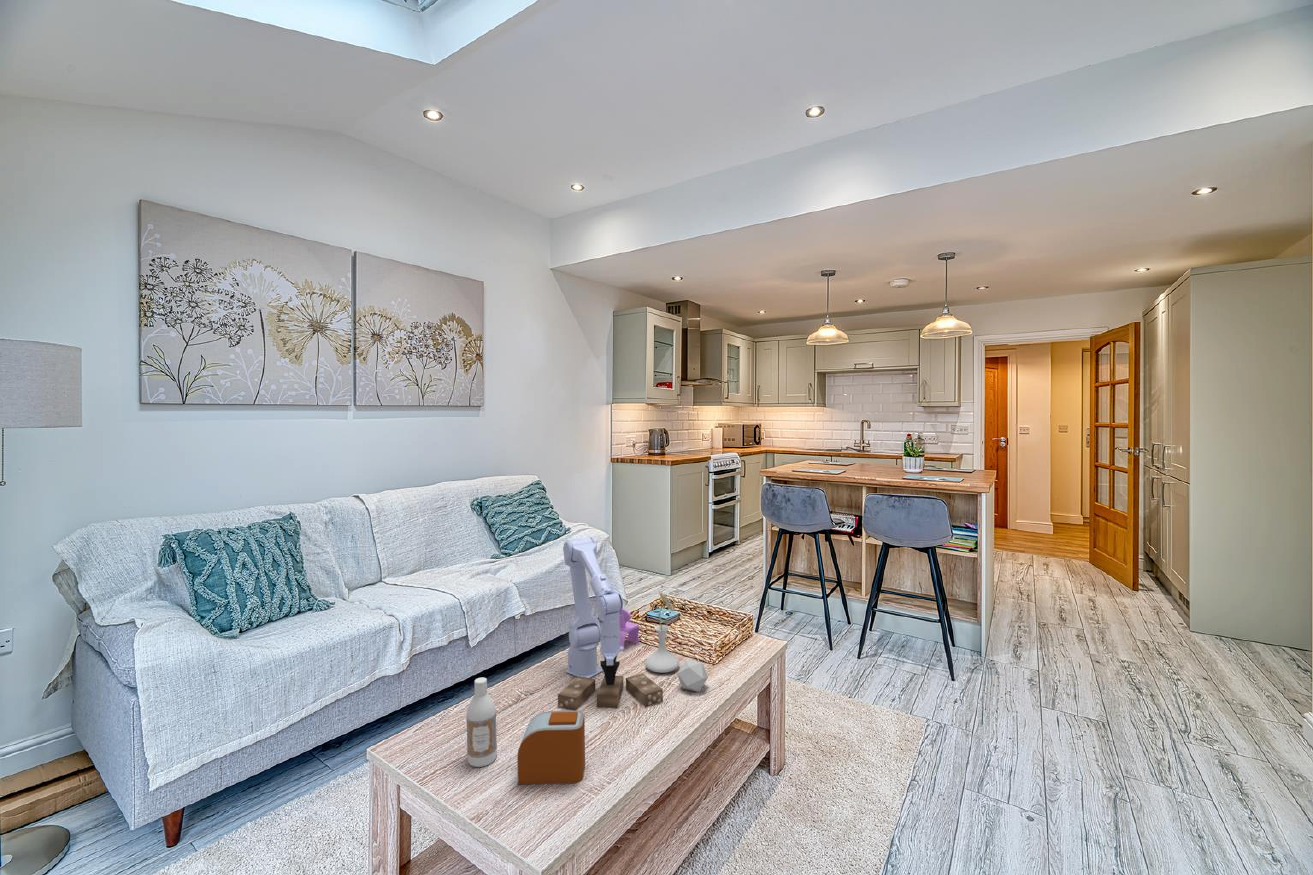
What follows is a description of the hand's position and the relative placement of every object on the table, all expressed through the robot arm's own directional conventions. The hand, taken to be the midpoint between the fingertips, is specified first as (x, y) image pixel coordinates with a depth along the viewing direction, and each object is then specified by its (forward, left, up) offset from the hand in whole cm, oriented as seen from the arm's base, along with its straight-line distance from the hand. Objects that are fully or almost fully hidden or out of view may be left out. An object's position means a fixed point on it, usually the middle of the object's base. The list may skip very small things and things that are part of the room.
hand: (610, 678), depth 164 cm
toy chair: (-20, +31, -6) cm, 37 cm away
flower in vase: (+1, +25, -6) cm, 26 cm away
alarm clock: (+12, -34, -6) cm, 37 cm away
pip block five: (+8, +7, -6) cm, 12 cm away
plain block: (0, 0, -6) cm, 6 cm away
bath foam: (-6, -41, -6) cm, 42 cm away
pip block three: (-7, -7, -6) cm, 12 cm away
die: (+17, +19, -6) cm, 26 cm away
